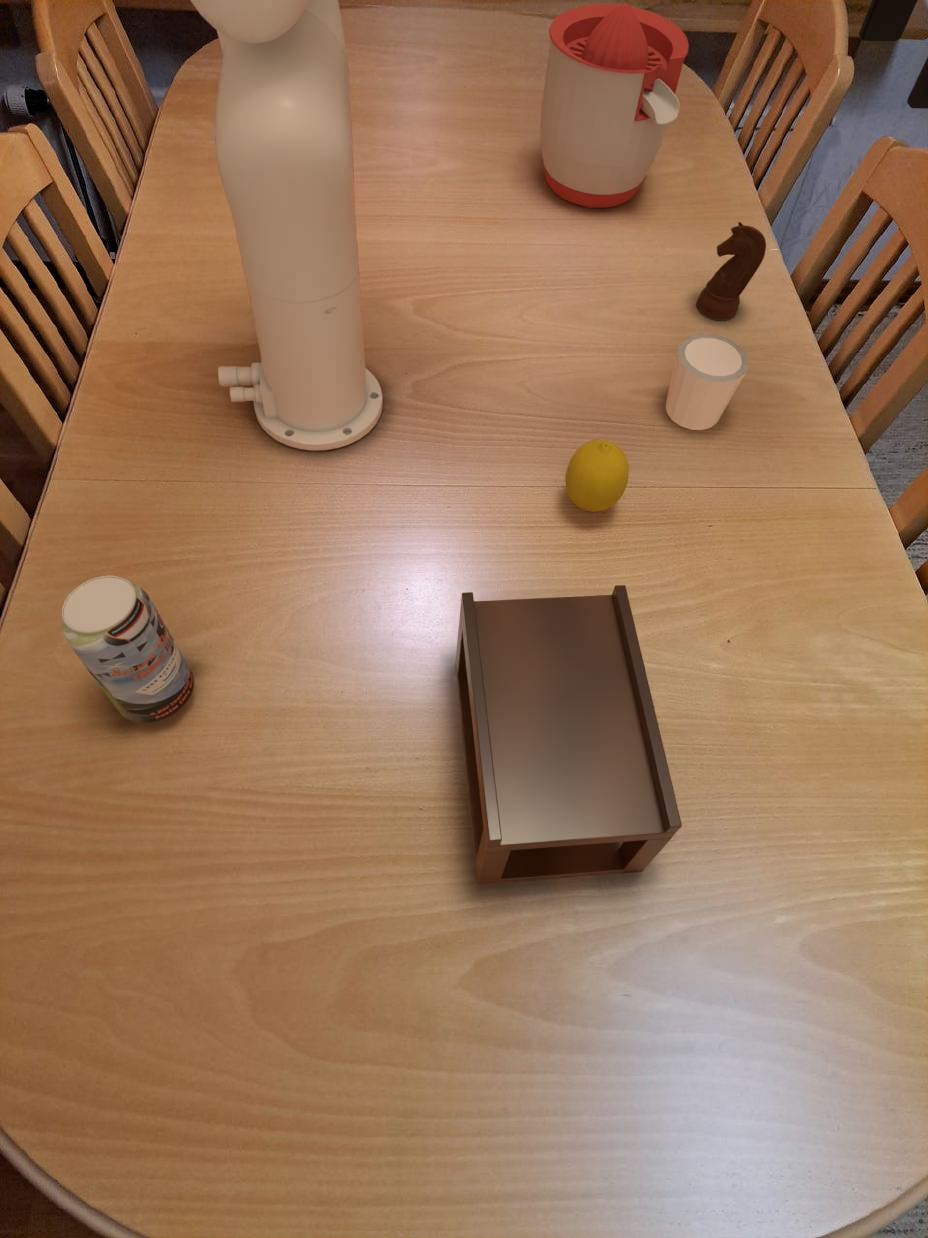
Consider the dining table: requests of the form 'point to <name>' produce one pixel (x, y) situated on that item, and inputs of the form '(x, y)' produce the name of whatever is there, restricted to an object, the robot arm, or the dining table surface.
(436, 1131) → the dining table surface
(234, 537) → the dining table surface
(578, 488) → the lemon
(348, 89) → the robot arm
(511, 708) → the rack
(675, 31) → the citrus juicer
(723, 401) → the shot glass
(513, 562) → the dining table surface
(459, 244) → the dining table surface
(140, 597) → the beverage can
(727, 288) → the chess piece
